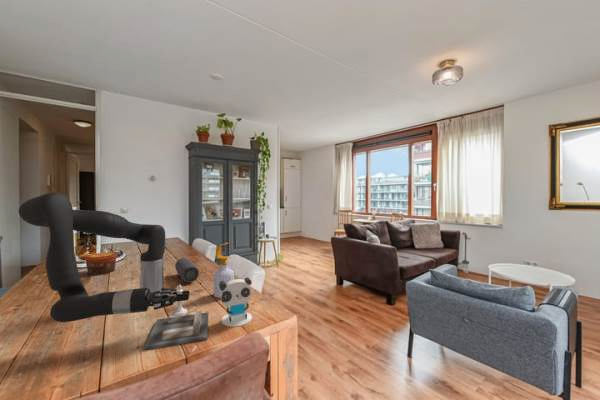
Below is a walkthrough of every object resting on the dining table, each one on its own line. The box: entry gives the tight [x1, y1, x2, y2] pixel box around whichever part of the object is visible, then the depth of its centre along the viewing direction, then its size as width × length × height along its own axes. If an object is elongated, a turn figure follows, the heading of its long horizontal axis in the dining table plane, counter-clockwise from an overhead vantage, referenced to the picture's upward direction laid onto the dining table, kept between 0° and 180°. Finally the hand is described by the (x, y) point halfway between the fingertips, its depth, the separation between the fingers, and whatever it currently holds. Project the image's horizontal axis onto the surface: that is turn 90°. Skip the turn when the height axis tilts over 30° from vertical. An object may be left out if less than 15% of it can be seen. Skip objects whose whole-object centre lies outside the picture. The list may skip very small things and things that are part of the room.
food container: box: [83, 251, 118, 276], centre depth 156 cm, size 16×16×11 cm
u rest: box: [144, 310, 209, 351], centre depth 90 cm, size 18×18×3 cm
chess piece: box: [171, 284, 188, 317], centre depth 89 cm, size 5×5×10 cm
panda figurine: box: [219, 277, 253, 328], centre depth 98 cm, size 12×11×15 cm
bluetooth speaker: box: [174, 257, 200, 283], centre depth 144 cm, size 23×9×10 cm, turn 34°
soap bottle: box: [213, 242, 235, 299], centre depth 121 cm, size 9×9×25 cm
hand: (188, 295), depth 90 cm, fingers closed on chess piece
